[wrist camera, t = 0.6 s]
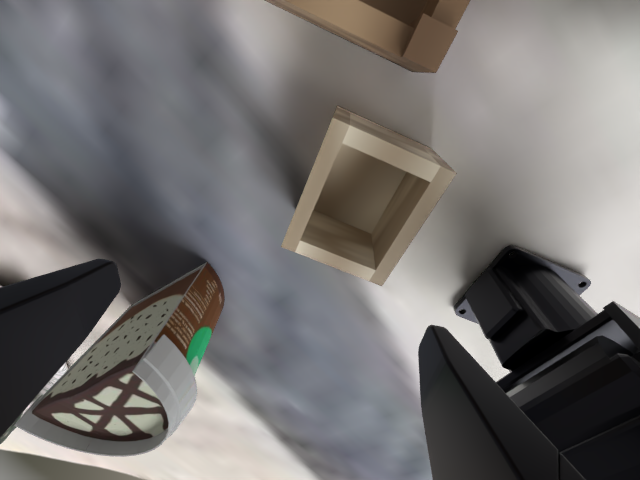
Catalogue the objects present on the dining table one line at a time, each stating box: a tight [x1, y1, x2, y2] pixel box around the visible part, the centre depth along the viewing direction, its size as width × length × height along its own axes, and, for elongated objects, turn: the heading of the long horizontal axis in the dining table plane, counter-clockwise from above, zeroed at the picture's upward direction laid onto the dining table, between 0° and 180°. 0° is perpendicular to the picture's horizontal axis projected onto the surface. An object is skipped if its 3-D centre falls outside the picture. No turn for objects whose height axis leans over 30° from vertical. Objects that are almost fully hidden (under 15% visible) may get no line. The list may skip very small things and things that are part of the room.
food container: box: [15, 262, 224, 456], centre depth 21 cm, size 12×6×10 cm, turn 123°
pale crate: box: [281, 106, 457, 286], centre depth 17 cm, size 6×7×5 cm
